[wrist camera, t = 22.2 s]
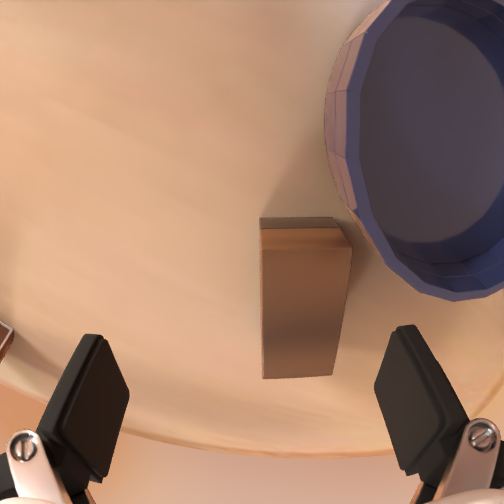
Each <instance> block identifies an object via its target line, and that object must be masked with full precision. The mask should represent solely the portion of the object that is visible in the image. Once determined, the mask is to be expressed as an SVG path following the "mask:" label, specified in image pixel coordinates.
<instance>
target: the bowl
mask: <svg viewBox="0 0 504 504" xmlns="http://www.w3.org/2000/svg"><path fill="white" fill-rule="evenodd" d="M324 127H325V143H326V149H327V155H328V161H329V165H330V169H331V172H332V175H333V179H334V182H335V185H336V187H337V190H338V192H339V195H340V198H341V200H342V202H343V203H344V205H345V207H346V208H347V210H348V212H349V213H350V215H351V217H352V219H353V220H354V221H355V222H356V224H357V226H358V227H359V229H360V230H361V232H362V234H363V235H364V237H365V238H366V240H367V241H368V242H369V243H370V245H371V246H372V247H373V248H374V250H375V251H376V252H377V254H378V255H379V256H380V258H381V259H382V260H383V261H384V263H385V264H386V265H387V266H388V267H389V268H390V269H391V270H393V271H394V272H395V273H396V274H398V275H399V276H400V277H401V278H402V279H404V280H405V281H406V282H407V283H408V284H410V285H411V286H412V287H413V288H414V289H416V290H417V291H418V292H420V293H424V294H427V295H431V296H434V297H438V298H442V299H445V300H449V301H453V302H455V301H463V300H470V299H478V298H485V297H487V296H489V295H491V294H493V293H495V292H497V291H499V290H501V289H503V288H504V0H388V1H386V2H385V3H383V4H382V5H381V6H379V7H378V8H376V9H375V10H374V11H372V12H371V13H370V14H369V15H368V16H367V17H366V18H365V19H364V21H363V22H362V23H361V24H360V25H359V26H358V27H357V28H356V29H355V30H354V31H353V33H352V34H351V35H350V37H349V38H348V39H347V41H346V42H345V44H344V45H343V47H342V49H341V51H340V53H339V55H338V57H337V59H336V61H335V64H334V67H333V70H332V73H331V76H330V79H329V84H328V89H327V94H326V100H325V115H324Z"/></svg>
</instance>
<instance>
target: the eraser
mask: <svg viewBox="0 0 504 504" xmlns="http://www.w3.org/2000/svg"><path fill="white" fill-rule="evenodd" d="M259 226H260V298H261V355H262V378H263V379H281V378H302V377H317V376H329V375H332V373H333V368H334V363H335V359H336V354H337V348H338V343H339V338H340V332H341V327H342V321H343V315H344V309H345V303H346V297H347V290H348V283H349V276H350V269H351V261H352V253H353V247H352V246H351V244H350V243H349V241H348V240H347V238H346V237H345V235H344V234H343V232H342V231H341V229H340V227H339V226H338V225H337V223H336V222H335V220H334V219H333V218H332V217H298V218H260V219H259Z"/></svg>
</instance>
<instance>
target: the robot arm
mask: <svg viewBox="0 0 504 504" xmlns="http://www.w3.org/2000/svg"><path fill="white" fill-rule="evenodd" d="M374 391H375V394H376V397H377V400H378V403H379V406H380V409H381V411H382V414H383V417H384V420H385V423H386V426H387V429H388V432H389V435H390V438H391V441H392V445H393V448H394V451H395V454H396V457H397V460H398V463H399V467H400V469H401V470H405V472H406V475H407V476H410V475H413V474H416V473H419V476H420V479H421V482H420V484H419V486H418V488H417V490H416V492H415V494H414V496H413V498H412V500H411V502H410V504H504V441H502V440H501V436H500V431H499V429H498V428H497V426H496V425H495V424H494V423H493V422H492V421H490V420H488V419H484V418H476V419H474V420H472V421H470V420H469V418H468V416H467V414H466V412H465V410H464V408H463V406H462V404H461V403H460V401H459V399H458V397H457V395H456V393H455V391H454V389H453V387H452V386H451V384H450V382H449V380H448V378H447V376H446V375H445V373H444V371H443V369H442V368H441V366H440V364H439V363H438V361H437V360H436V359H435V357H434V355H433V354H432V352H431V350H430V349H429V347H428V345H427V344H426V342H425V340H424V339H423V337H422V335H421V334H420V332H419V330H418V329H417V327H416V326H415V325H406V326H399V327H397V328H396V331H393V332H392V334H391V337H390V340H389V343H388V346H387V349H386V352H385V355H384V358H383V361H382V364H381V367H380V370H379V373H378V375H377V378H376V381H375V384H374ZM128 401H129V389H128V387H127V385H126V383H125V381H124V378H123V376H122V374H121V372H120V369H119V367H118V365H117V362H116V360H115V358H114V355H113V353H112V350H111V348H110V345H109V343H108V341H107V340H106V339H104V338H103V336H102V335H97V334H85V335H84V336H83V337H82V339H81V341H80V343H79V344H78V346H77V348H76V350H75V352H74V354H73V355H72V357H71V359H70V361H69V363H68V365H67V367H66V369H65V371H64V373H63V375H62V377H61V379H60V381H59V383H58V385H57V387H56V389H55V391H54V393H53V395H52V397H51V399H50V401H49V403H48V405H47V407H46V410H45V412H44V414H43V416H42V418H41V420H40V423H39V425H38V427H37V430H36V432H34V431H32V430H30V429H22V430H18V431H16V432H15V433H13V435H11V436H10V438H9V440H8V442H7V446H6V452H5V453H3V454H1V455H0V504H96V503H95V501H94V500H93V498H92V496H91V494H90V492H89V490H88V489H87V487H88V483H89V480H90V481H93V482H97V483H102V480H103V477H106V476H107V475H108V472H109V468H110V464H111V460H112V457H113V453H114V449H115V445H116V441H117V438H118V435H119V431H120V428H121V424H122V421H123V417H124V414H125V411H126V407H127V404H128Z"/></svg>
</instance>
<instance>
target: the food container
mask: <svg viewBox="0 0 504 504" xmlns="http://www.w3.org/2000/svg"><path fill="white" fill-rule="evenodd" d="M13 338H14V329H13V328H11V327H9V326H8V325H6V324H4V323H3V322H1V321H0V363H1V361H2V359H3V358H4V356H5V354H6V352H7V351H8V349H9V347H10V345H11V344H12V341H13Z"/></svg>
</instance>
